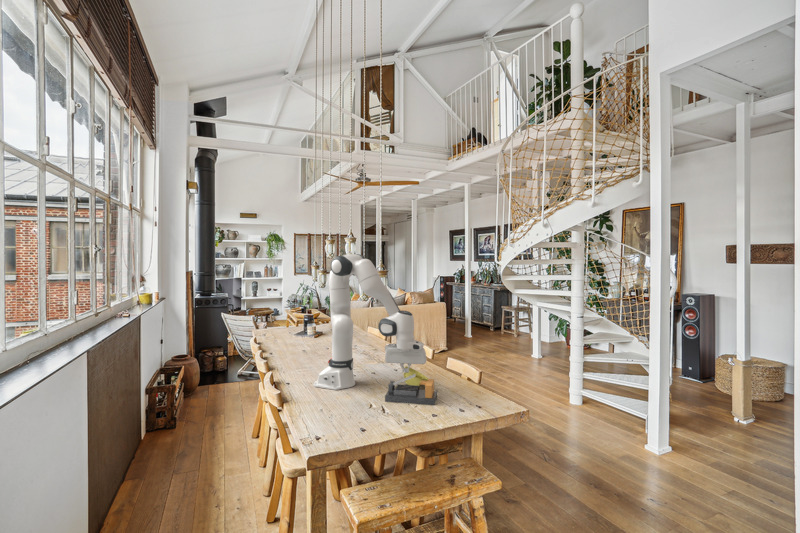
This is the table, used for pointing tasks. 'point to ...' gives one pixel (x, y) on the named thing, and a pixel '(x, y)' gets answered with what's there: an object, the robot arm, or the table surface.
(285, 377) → the table surface
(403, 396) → the heatsink
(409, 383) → the plastic component
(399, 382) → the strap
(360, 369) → the table surface
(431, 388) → the clip
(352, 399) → the table surface
